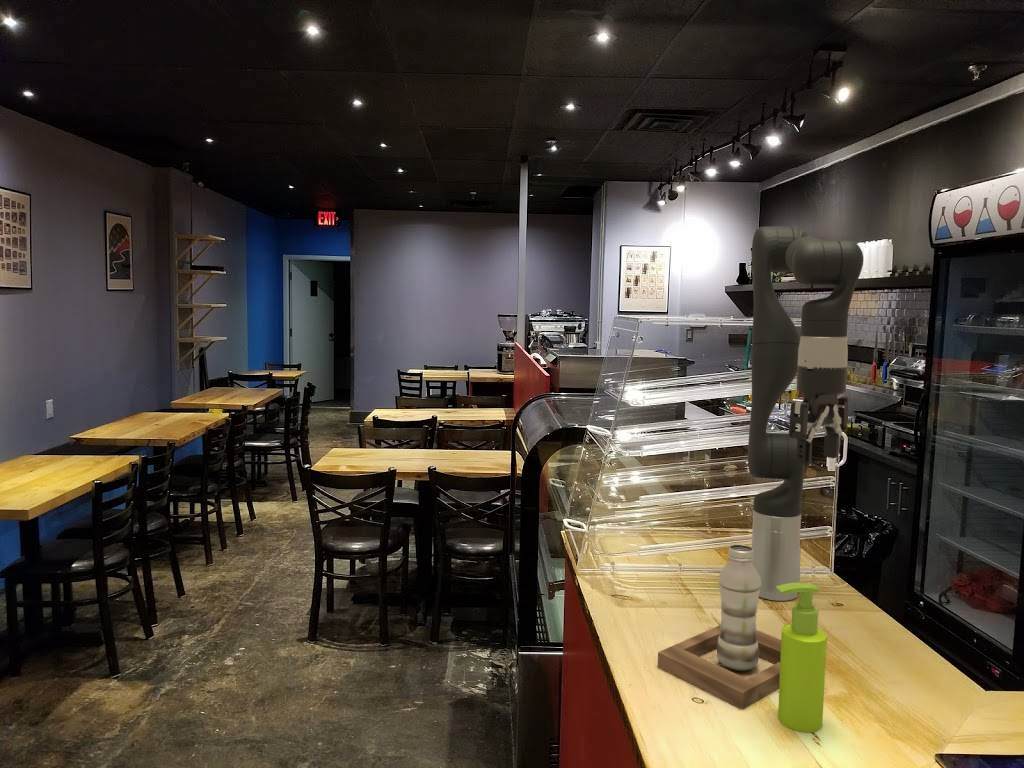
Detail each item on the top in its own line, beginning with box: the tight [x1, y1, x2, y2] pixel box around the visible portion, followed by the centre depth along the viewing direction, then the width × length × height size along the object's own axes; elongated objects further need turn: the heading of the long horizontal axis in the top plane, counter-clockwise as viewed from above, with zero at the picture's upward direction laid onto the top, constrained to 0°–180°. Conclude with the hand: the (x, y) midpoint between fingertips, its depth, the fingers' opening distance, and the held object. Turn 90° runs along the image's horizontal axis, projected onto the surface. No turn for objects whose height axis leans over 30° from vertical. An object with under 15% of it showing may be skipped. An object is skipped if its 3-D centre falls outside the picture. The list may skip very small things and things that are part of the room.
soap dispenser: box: [776, 582, 828, 733], centre depth 102 cm, size 6×7×20 cm
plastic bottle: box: [716, 543, 761, 672], centre depth 118 cm, size 6×7×20 cm
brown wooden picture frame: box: [657, 624, 781, 710], centre depth 118 cm, size 20×16×2 cm
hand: (817, 460), depth 121 cm, fingers open, 8 cm apart
